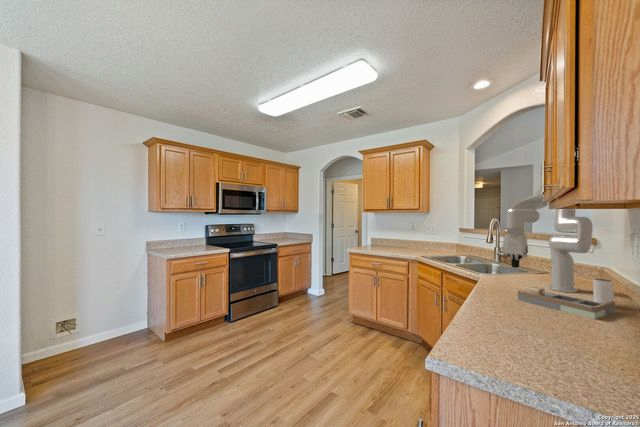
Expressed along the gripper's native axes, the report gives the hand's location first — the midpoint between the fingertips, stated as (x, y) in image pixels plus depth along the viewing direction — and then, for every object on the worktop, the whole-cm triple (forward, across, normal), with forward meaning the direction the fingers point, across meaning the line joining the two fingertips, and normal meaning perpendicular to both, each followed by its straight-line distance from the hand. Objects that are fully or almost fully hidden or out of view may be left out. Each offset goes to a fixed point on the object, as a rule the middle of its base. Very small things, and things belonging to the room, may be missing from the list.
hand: (515, 267), depth 138 cm
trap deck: (+15, +18, +5) cm, 24 cm away
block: (+13, +8, +1) cm, 15 cm away
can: (+15, +26, +23) cm, 38 cm away
